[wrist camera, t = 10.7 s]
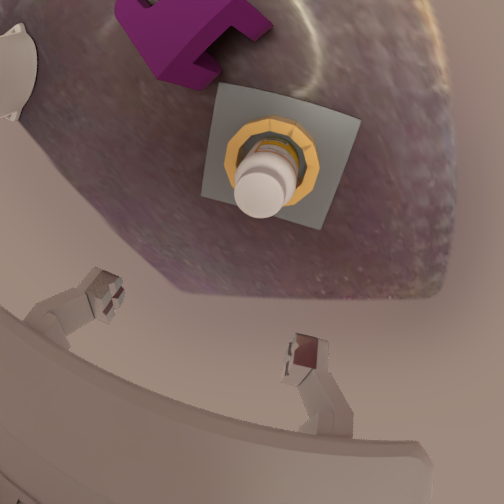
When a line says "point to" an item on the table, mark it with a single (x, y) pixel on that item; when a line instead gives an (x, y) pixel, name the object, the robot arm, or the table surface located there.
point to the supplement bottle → (266, 177)
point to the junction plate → (290, 128)
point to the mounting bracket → (186, 34)
